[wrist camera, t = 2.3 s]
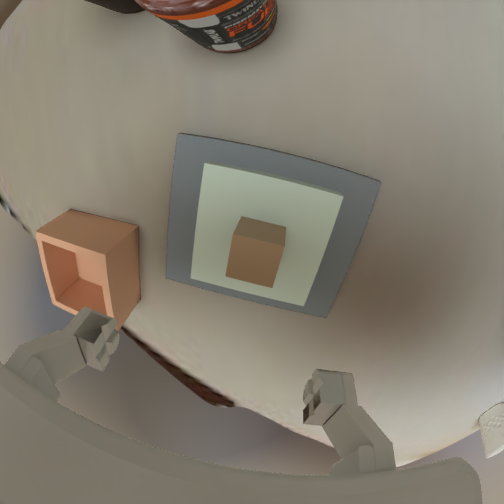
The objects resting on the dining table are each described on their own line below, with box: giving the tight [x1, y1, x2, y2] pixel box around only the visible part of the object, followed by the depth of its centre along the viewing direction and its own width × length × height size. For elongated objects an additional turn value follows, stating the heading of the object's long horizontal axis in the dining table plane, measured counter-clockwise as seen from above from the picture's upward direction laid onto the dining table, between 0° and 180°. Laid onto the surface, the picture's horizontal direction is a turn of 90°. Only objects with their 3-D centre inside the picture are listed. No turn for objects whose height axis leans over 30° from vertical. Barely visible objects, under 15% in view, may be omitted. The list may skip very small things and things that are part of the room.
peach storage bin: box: [36, 209, 141, 331], centre depth 21 cm, size 8×8×5 cm
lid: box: [191, 161, 343, 306], centre depth 18 cm, size 9×9×4 cm
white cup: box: [478, 403, 504, 458], centre depth 26 cm, size 8×8×10 cm
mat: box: [166, 133, 381, 318], centre depth 20 cm, size 14×12×1 cm
